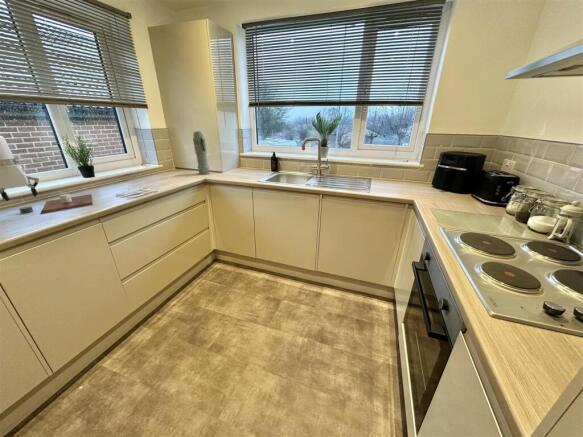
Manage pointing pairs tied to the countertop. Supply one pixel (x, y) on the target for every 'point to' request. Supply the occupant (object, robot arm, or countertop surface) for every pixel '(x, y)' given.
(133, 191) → the knife set
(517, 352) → the countertop surface
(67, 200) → the white stone
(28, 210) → the black stone
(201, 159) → the grey statue
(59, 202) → the board
